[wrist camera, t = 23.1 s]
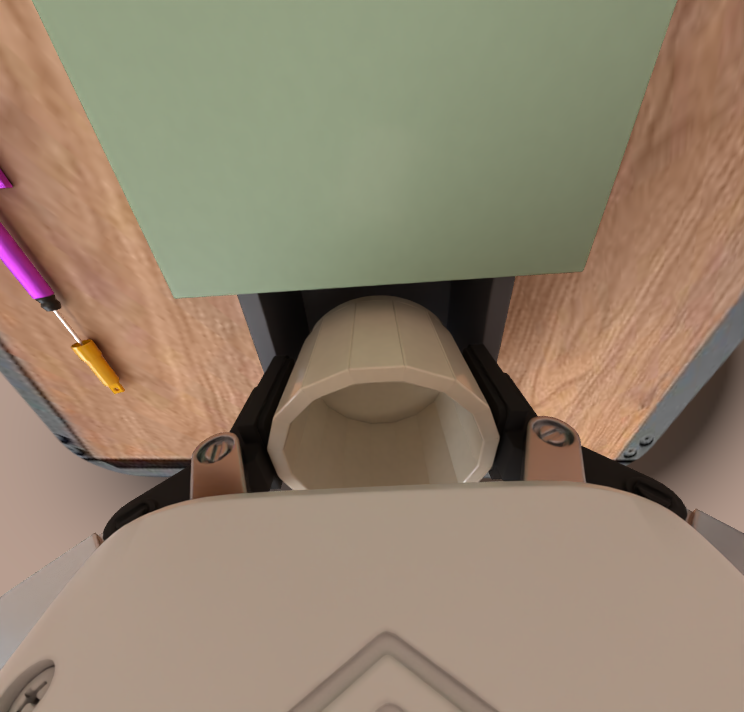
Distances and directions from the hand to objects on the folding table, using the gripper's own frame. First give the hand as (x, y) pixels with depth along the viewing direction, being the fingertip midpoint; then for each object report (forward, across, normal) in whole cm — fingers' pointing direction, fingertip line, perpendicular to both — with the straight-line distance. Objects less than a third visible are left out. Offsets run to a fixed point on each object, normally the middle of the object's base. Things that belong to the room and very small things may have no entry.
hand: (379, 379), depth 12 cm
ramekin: (+1, 0, 0) cm, 1 cm away
